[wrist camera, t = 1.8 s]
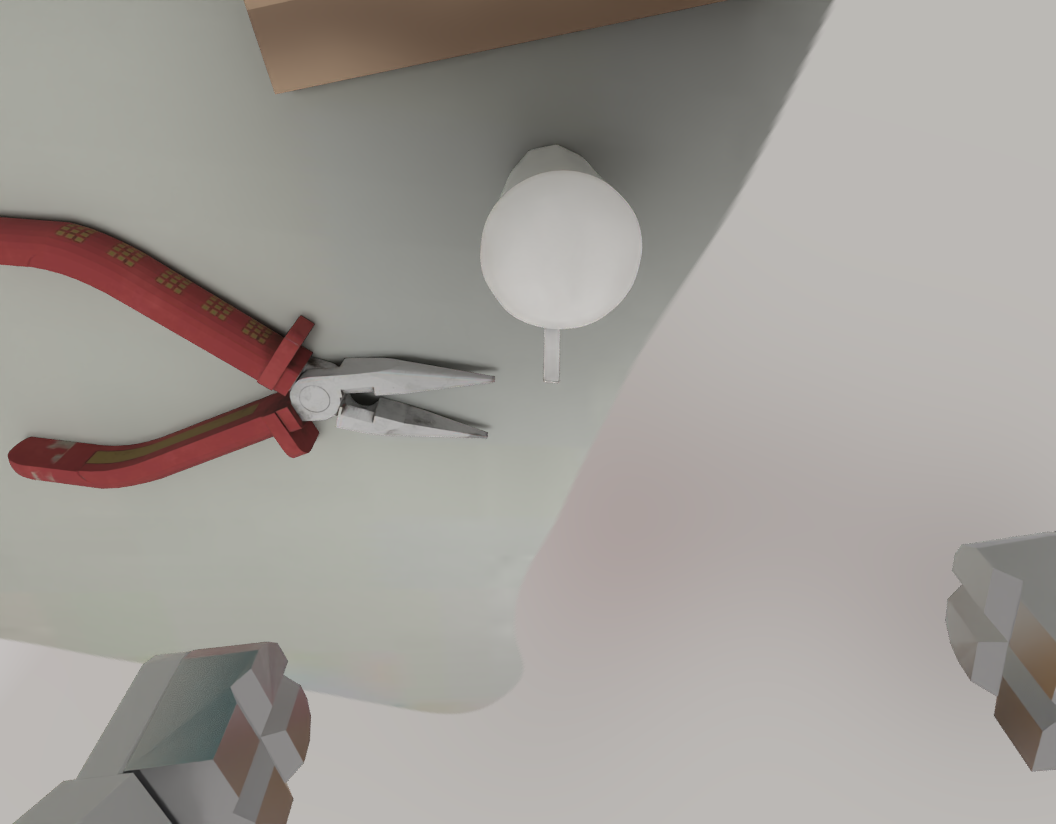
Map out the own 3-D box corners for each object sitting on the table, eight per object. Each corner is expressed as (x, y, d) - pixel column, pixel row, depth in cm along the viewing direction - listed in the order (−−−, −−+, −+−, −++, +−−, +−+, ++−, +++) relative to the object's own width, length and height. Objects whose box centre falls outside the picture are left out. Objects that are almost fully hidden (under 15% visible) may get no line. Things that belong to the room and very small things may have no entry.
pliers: (480, 500, 35) (477, 535, 32) (37, 456, 33) (0, 490, 31) (507, 266, 29) (506, 288, 26) (-29, 201, 27) (-81, 219, 25)
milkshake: (485, 261, 28) (469, 376, 20) (496, 118, 25) (483, 178, 17) (597, 272, 28) (630, 390, 20) (619, 132, 26) (669, 198, 17)
